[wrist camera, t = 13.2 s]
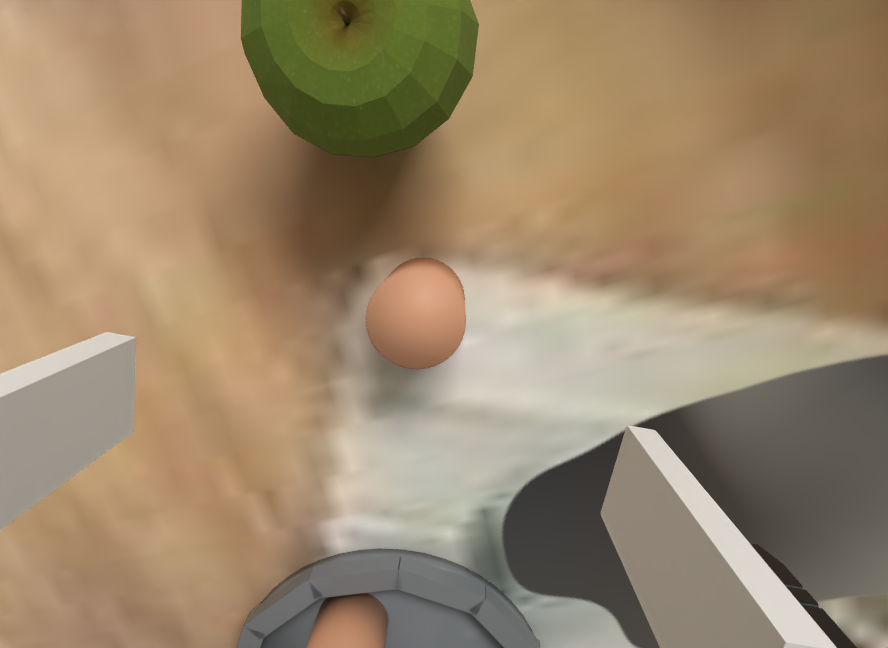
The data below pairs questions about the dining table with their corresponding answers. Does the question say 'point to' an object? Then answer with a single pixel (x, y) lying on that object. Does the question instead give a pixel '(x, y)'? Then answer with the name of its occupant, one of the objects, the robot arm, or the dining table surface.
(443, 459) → the dining table surface
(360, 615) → the terracotta bead
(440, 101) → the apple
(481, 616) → the groove tray
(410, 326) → the terracotta bead
